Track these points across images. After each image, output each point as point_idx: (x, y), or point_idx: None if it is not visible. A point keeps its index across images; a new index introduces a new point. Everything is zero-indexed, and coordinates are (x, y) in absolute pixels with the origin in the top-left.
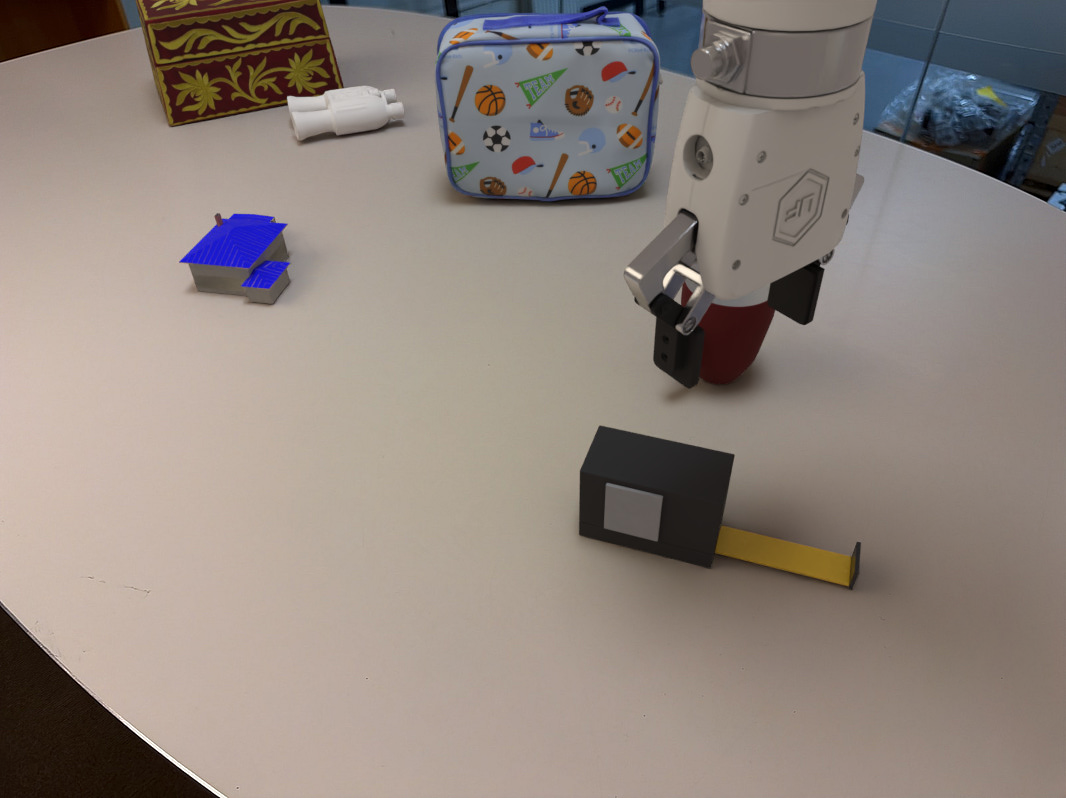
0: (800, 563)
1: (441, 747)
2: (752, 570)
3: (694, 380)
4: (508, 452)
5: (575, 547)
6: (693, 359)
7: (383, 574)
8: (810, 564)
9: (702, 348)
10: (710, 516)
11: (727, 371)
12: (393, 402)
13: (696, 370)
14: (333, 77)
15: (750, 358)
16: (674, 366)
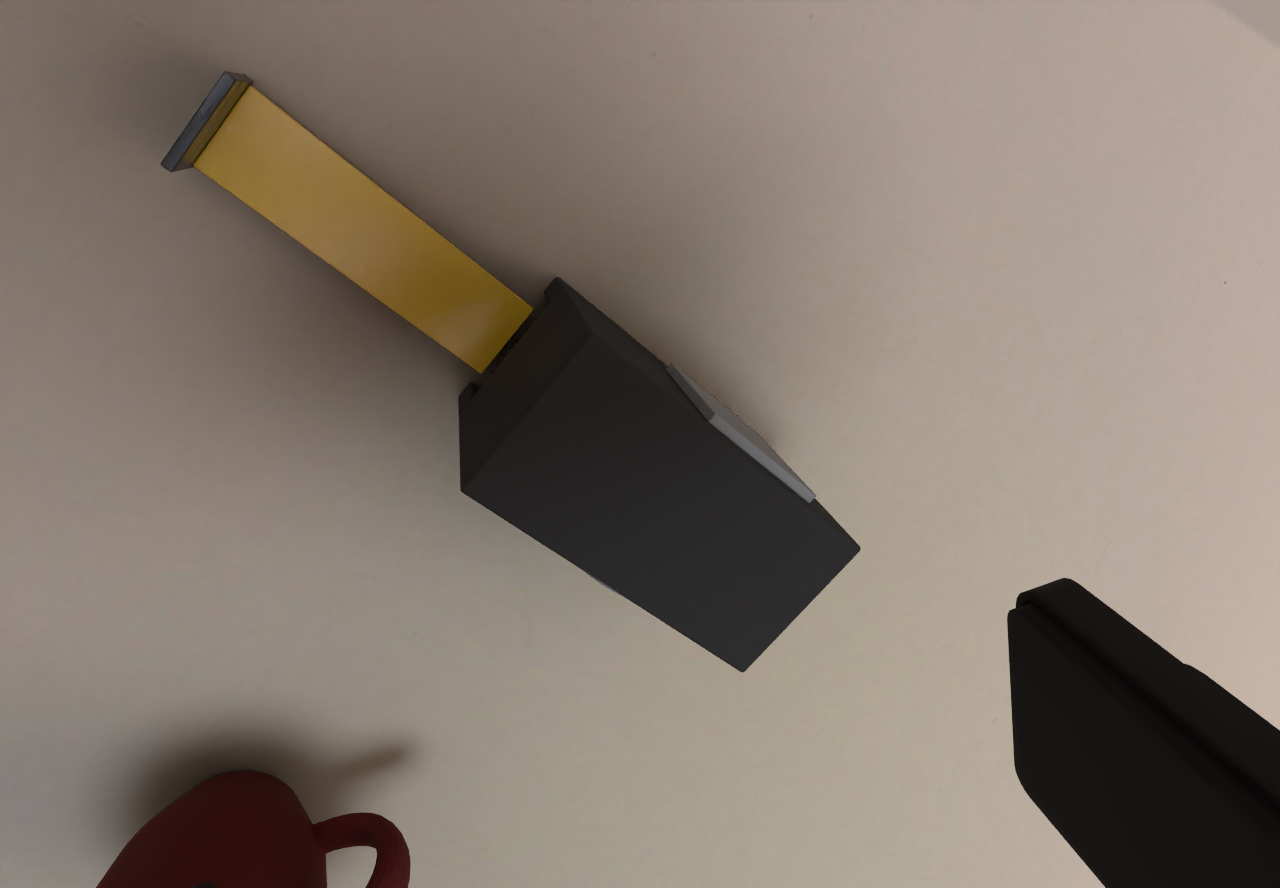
0: (345, 199)
1: (1199, 99)
2: (464, 236)
3: (1085, 602)
4: (796, 683)
5: (792, 426)
6: (1221, 698)
7: (1109, 476)
8: (320, 185)
9: (1199, 759)
10: (603, 333)
11: (244, 799)
12: (924, 835)
13: (1126, 643)
14: None
15: (166, 828)
16: (1218, 689)
